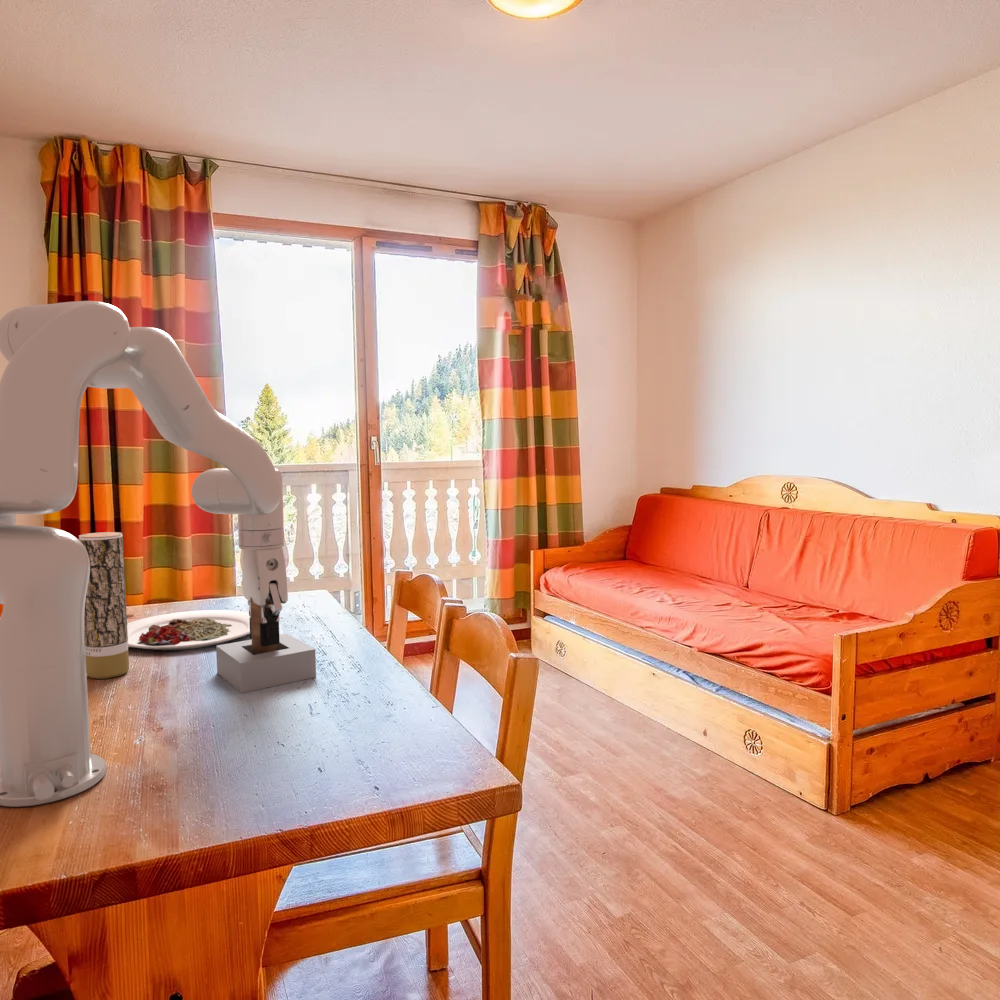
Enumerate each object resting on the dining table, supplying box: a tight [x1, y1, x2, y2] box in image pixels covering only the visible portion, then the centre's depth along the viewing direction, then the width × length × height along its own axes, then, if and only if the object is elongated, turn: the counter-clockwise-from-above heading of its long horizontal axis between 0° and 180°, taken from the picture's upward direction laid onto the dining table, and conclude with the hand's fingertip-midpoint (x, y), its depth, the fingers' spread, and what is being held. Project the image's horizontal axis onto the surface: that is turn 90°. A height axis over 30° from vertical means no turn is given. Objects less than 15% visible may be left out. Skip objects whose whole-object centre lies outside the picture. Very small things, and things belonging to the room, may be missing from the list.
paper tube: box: [78, 531, 130, 680], centre depth 133 cm, size 7×7×25 cm
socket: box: [215, 633, 317, 694], centre depth 133 cm, size 13×13×5 cm
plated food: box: [127, 609, 250, 651], centre depth 160 cm, size 30×30×3 cm
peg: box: [250, 597, 278, 655], centre depth 132 cm, size 4×4×14 cm
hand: (264, 640), depth 132 cm, fingers closed on peg, 4 cm apart
